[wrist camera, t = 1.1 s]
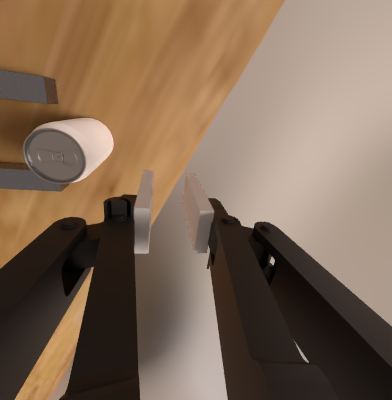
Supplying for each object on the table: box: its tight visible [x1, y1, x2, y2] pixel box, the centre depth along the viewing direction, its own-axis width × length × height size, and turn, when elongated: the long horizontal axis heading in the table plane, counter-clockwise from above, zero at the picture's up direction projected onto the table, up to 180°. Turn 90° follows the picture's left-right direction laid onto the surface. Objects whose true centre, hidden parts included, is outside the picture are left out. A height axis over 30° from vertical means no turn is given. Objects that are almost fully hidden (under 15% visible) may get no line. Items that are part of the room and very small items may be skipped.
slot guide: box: [0, 70, 69, 191], centre depth 28 cm, size 15×12×3 cm
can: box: [23, 118, 113, 184], centre depth 25 cm, size 6×6×12 cm
